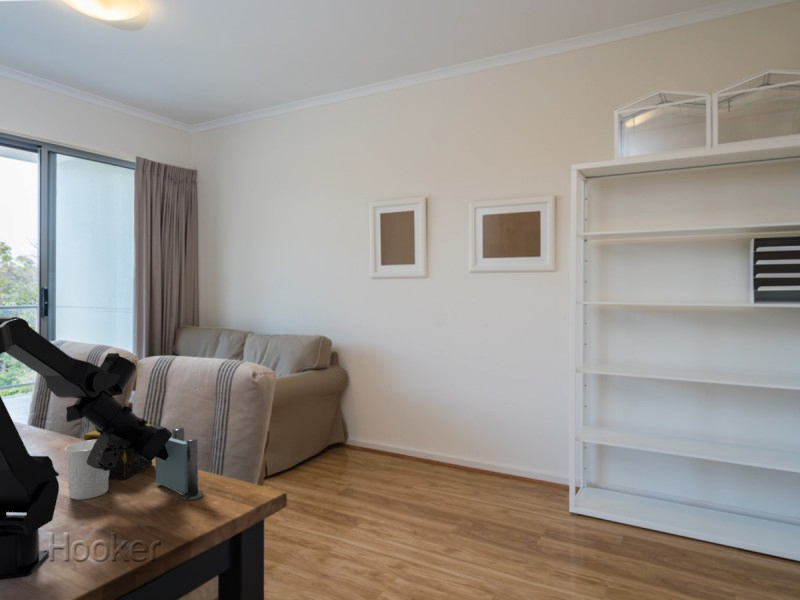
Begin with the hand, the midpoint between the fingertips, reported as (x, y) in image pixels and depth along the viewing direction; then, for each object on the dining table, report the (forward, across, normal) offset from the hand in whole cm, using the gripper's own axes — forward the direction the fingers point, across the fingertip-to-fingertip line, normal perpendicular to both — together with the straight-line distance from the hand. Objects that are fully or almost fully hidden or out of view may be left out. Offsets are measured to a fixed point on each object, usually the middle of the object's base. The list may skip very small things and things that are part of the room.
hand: (163, 457), depth 104 cm
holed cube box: (+5, -18, -6) cm, 20 cm away
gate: (+5, +2, -4) cm, 7 cm away
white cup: (-2, -11, -12) cm, 16 cm away
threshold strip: (+6, +1, -3) cm, 7 cm away
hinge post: (+6, +8, -4) cm, 11 cm away
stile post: (+8, -2, -2) cm, 8 cm away
